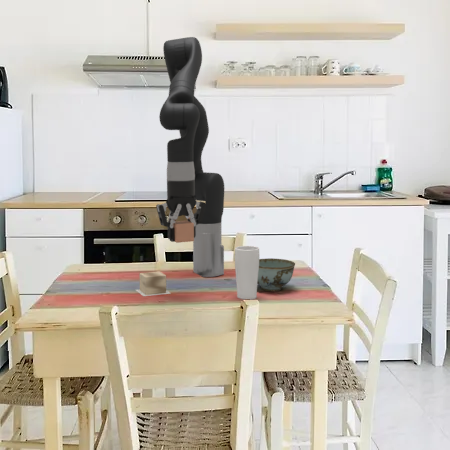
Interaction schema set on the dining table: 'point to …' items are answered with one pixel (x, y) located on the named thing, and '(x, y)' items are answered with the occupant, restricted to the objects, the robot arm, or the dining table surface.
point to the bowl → (274, 273)
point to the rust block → (184, 231)
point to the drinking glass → (247, 271)
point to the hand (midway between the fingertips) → (181, 240)
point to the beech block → (152, 283)
